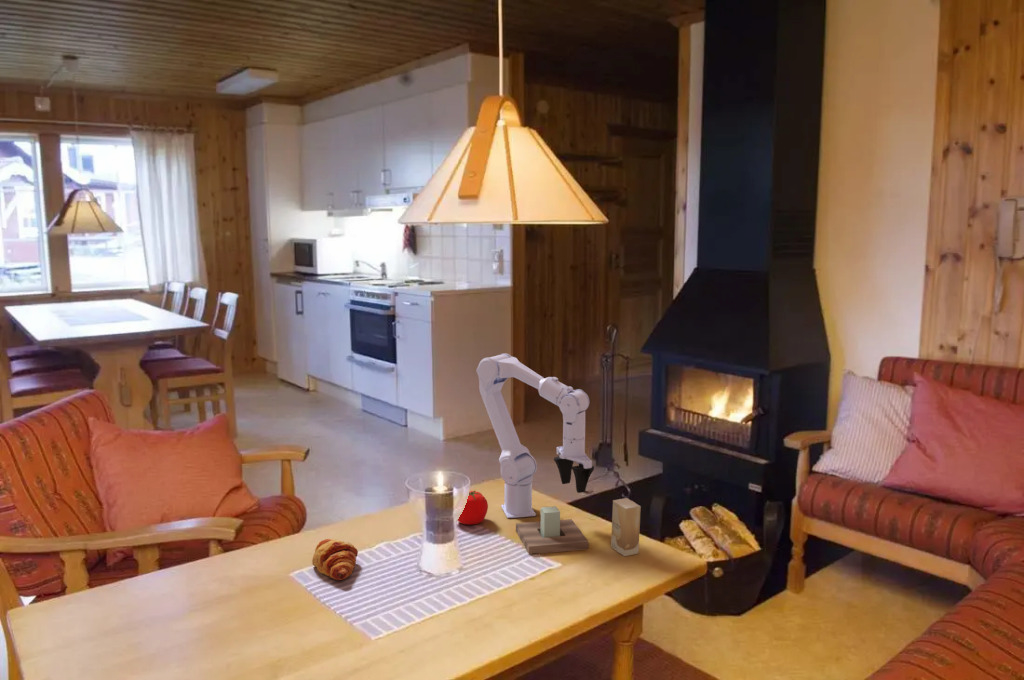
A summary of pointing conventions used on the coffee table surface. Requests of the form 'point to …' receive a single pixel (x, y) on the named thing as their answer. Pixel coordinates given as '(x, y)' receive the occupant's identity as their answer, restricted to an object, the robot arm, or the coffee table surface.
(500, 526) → the coffee table surface
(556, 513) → the sage peg
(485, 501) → the tomato
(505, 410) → the robot arm
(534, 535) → the walnut socket frame
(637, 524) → the skincare box
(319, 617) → the coffee table surface
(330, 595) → the coffee table surface
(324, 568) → the croissant
